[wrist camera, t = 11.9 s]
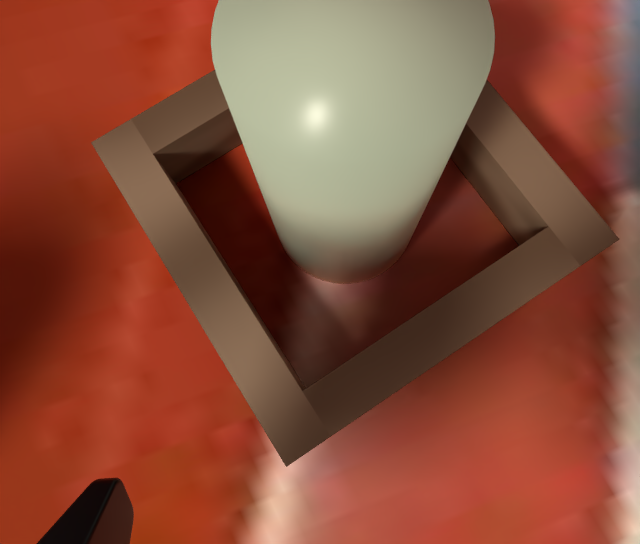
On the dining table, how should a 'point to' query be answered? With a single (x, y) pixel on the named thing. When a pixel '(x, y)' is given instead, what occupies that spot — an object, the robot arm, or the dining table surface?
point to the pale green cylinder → (350, 116)
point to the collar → (403, 342)
